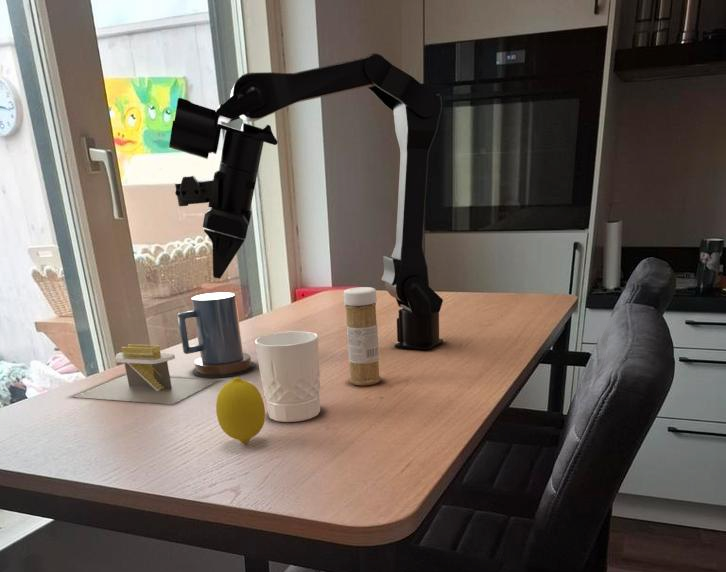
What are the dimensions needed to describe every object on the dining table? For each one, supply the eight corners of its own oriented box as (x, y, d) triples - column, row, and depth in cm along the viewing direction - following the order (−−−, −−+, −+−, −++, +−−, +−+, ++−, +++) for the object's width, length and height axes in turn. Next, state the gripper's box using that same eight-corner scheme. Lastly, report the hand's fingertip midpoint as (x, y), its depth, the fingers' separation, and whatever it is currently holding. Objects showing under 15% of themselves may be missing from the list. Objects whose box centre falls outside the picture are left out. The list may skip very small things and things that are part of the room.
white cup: (315, 424, 87) (308, 345, 83) (255, 423, 89) (245, 345, 85) (330, 404, 94) (324, 330, 90) (275, 404, 96) (266, 331, 92)
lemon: (223, 437, 85) (214, 372, 82) (269, 433, 85) (261, 369, 82) (219, 453, 80) (208, 386, 77) (267, 449, 80) (259, 382, 77)
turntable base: (267, 364, 116) (266, 362, 116) (226, 380, 108) (226, 378, 108) (222, 359, 121) (221, 357, 121) (180, 374, 113) (179, 372, 113)
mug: (236, 357, 120) (227, 289, 115) (260, 367, 113) (252, 295, 109) (176, 370, 115) (164, 299, 110) (198, 381, 108) (186, 305, 103)
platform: (172, 404, 98) (164, 358, 96) (72, 396, 105) (62, 353, 102) (218, 380, 109) (212, 338, 106) (124, 375, 115) (116, 335, 112)
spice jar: (371, 376, 106) (367, 285, 100) (385, 383, 102) (381, 288, 97) (344, 381, 104) (338, 289, 99) (357, 388, 100) (351, 292, 95)
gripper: (190, 150, 111) (174, 249, 117) (176, 155, 95) (158, 269, 101) (259, 170, 114) (240, 266, 120) (257, 179, 97) (235, 289, 104)
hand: (218, 272), depth 111 cm, fingers open, 9 cm apart
